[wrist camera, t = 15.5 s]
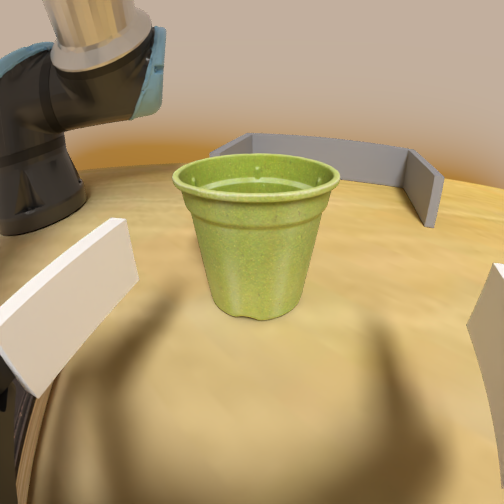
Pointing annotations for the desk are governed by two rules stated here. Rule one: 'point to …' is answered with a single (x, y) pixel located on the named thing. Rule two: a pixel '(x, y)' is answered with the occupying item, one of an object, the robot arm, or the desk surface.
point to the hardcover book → (26, 435)
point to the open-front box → (355, 164)
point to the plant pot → (256, 226)
